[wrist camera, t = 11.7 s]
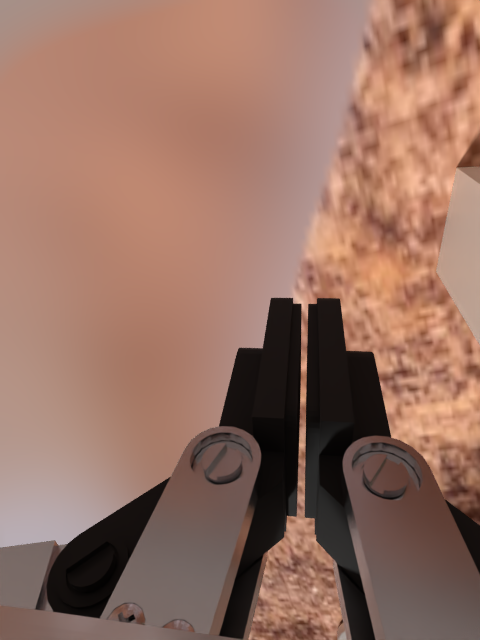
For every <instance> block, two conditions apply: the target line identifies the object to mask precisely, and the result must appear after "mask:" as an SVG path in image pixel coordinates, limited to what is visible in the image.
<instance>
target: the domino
mask: <svg viewBox="0 0 480 640" xmlns="http://www.w3.org/2000/svg"><path fill="white" fill-rule="evenodd" d="M436 272H437V274H438V276H439V277H440V279H441V281H442V282H443V284H444V286H445V287H446V289H447V291H448V292H449V294H450V296H451V297H452V299H453V301H454V302H455V304H456V306H457V308H458V309H459V311H460V313H461V314H462V316H463V318H464V319H465V321H466V323H467V324H468V326H469V328H470V329H471V331H472V333H473V335H474V336H475V338H476V340H477V341H478V343H479V345H480V166H477V167H456V172H455V177H454V182H453V187H452V193H451V198H450V203H449V208H448V213H447V218H446V223H445V228H444V233H443V239H442V244H441V249H440V254H439V259H438V264H437V269H436Z"/></svg>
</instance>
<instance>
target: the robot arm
mask: <svg viewBox="0 0 480 640" xmlns="http://www.w3.org/2000/svg"><path fill="white" fill-rule="evenodd" d="M300 386H301V304H293V298H271V301H270V307H269V313H268V320H267V326H266V332H265V338H264V344H263V349H260V348H239V349H238V352H237V355H236V359H235V363H234V368H233V372H232V375H231V380H230V384H229V388H228V392H227V396H226V400H225V404H224V408H223V412H222V416H221V420H220V424H219V427H215V428H210V429H208V430H206V431H204V432H201V433H200V434H199V435H197V436H196V437H195V438H193V439H192V440H191V441H190V443H189V444H188V446H187V447H186V448H185V450H184V452H183V454H182V456H181V458H180V460H179V462H178V464H177V466H176V468H175V470H174V472H173V474H172V476H171V477H169V478H168V479H166V480H165V481H163V482H162V483H160V484H158V485H157V486H155V487H154V488H152V489H150V490H149V491H148V492H146V493H144V494H143V495H141V496H139V497H138V498H136V499H135V500H133V501H131V502H130V503H128V504H127V505H125V506H124V507H122V508H120V509H119V510H117V511H116V512H114V513H113V514H111V515H109V516H108V517H106V518H105V519H103V520H101V521H100V522H98V523H97V524H95V525H94V526H92V527H90V528H89V529H87V530H86V531H84V532H83V533H81V534H79V535H78V536H77V537H76V538H74V539H73V540H72V541H71V542H69V543H68V544H65V545H58V544H57V543H56V541H47V542H40V543H32V544H26V545H17V546H10V547H3V548H0V640H248V638H249V634H250V630H251V626H252V621H253V617H254V613H255V608H256V604H257V600H258V596H259V591H260V587H261V583H262V579H263V574H264V570H265V566H266V562H267V553H268V550H269V549H271V548H272V547H273V546H274V545H275V544H276V543H278V542H279V541H280V540H281V539H282V538H284V531H286V522H287V516H295V517H296V516H297V487H298V454H299V422H300ZM305 518H315V535H316V541H317V542H318V543H319V544H320V545H321V546H322V547H323V548H324V549H325V551H326V552H327V553H328V554H329V555H330V556H331V557H332V558H333V569H334V574H335V580H336V585H337V590H338V596H339V601H340V607H341V612H342V617H343V623H342V624H341V625H340V626H339V628H338V631H337V640H480V525H478V524H477V523H476V522H474V521H473V520H472V519H470V518H469V517H468V516H466V515H465V514H464V513H462V512H461V511H460V510H458V509H457V508H456V507H454V506H453V505H452V504H450V503H449V502H448V501H446V500H445V499H444V497H443V495H442V492H441V490H440V488H439V486H438V484H437V482H436V480H435V477H434V475H433V473H432V471H431V469H430V467H429V465H428V464H427V462H426V461H425V459H424V458H423V456H422V455H421V454H419V453H418V452H417V451H416V450H415V449H414V448H413V447H411V446H409V445H407V444H406V443H404V442H402V441H400V440H397V439H394V438H391V434H390V430H389V425H388V420H387V415H386V410H385V406H384V401H383V396H382V391H381V386H380V382H379V377H378V372H377V367H376V362H375V358H374V354H373V353H372V352H361V351H346V346H345V338H344V329H343V320H342V312H341V303H340V299H335V298H317V304H308V346H307V392H306V466H305Z"/></svg>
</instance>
